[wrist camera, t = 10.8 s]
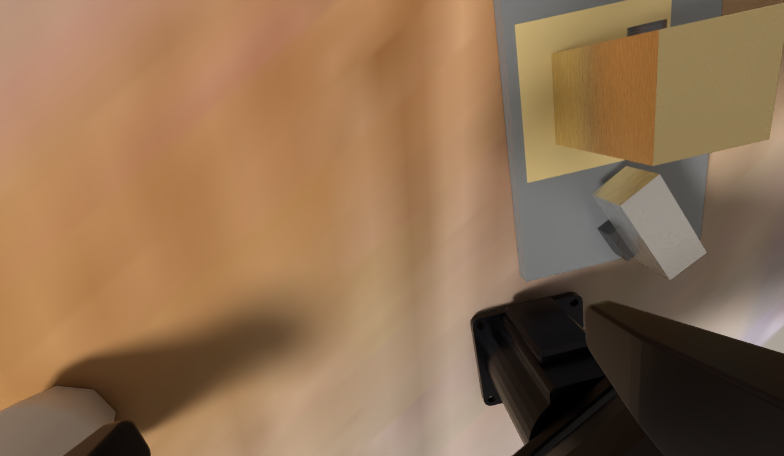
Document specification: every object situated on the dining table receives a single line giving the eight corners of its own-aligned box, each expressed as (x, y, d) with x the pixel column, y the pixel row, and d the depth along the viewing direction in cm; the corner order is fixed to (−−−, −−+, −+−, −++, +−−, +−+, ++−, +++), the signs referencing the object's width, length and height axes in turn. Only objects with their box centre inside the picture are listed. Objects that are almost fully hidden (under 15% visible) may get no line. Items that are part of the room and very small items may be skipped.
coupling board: (688, 234, 21) (702, 240, 20) (519, 275, 21) (527, 282, 20) (720, -172, 15) (742, -188, 14) (481, -123, 15) (489, -137, 14)
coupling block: (635, 132, 18) (767, 148, 12) (556, 150, 18) (652, 174, 12) (638, 27, 16) (791, -11, 11) (551, 46, 16) (659, 17, 10)
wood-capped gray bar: (656, 247, 20) (706, 271, 17) (581, 265, 20) (619, 292, 17) (677, -168, 14) (758, -234, 11) (568, -146, 14) (624, -208, 11)
